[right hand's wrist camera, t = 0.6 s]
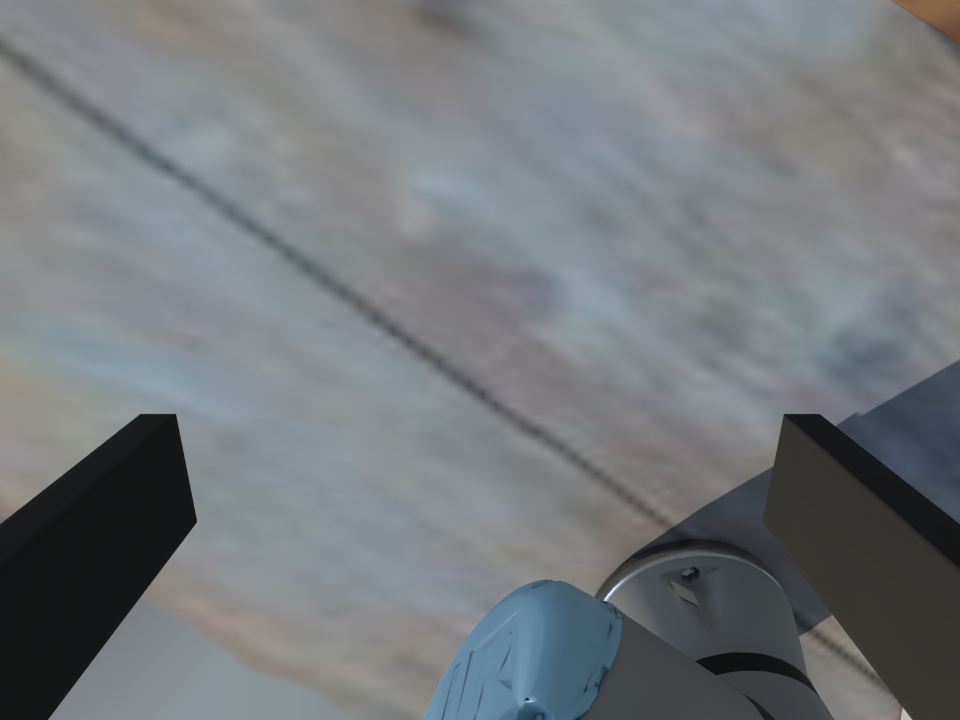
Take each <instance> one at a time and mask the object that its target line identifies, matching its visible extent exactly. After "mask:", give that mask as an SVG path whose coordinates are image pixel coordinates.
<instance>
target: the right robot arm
mask: <svg viewBox="0 0 960 720" xmlns="http://www.w3.org/2000/svg"><path fill="white" fill-rule="evenodd" d="M196 523H197V519H196V514H195V508H194V503H193V498H192V493H191V488H190V483H189V478H188V473H187V468H186V463H185V458H184V452H183V447H182V442H181V437H180V432H179V427H178V422H177V417H176V414H140V415H139V416H137V417H136V418H135V419H134V420H132V421H131V422H130V423H128V424H127V425H126V426H125V427H123V428H122V429H121V430H120V431H118V432H117V433H116V434H115V435H113V436H112V437H111V438H109V439H108V440H107V441H106V442H104V443H103V444H102V445H101V446H99V447H98V448H97V449H95V450H94V451H93V452H92V453H90V454H89V455H88V456H87V457H85V458H84V459H83V460H81V461H80V462H79V463H78V464H76V465H75V466H74V467H73V468H71V469H70V470H69V471H67V472H66V473H65V474H64V475H62V476H61V477H60V478H59V479H57V480H56V481H55V482H53V483H52V484H51V485H50V486H48V487H47V488H46V489H45V490H43V491H42V492H41V493H39V494H38V495H37V496H36V497H34V498H33V499H32V500H31V501H29V502H28V503H27V504H25V505H24V506H23V507H22V508H20V509H19V510H18V511H17V512H15V513H14V514H13V515H11V516H10V517H9V518H8V519H6V520H5V521H4V522H3V523H1V524H0V720H48V719H49V718H50V716H51V715H52V714H53V712H54V711H55V710H56V708H57V707H58V706H59V704H60V703H61V702H62V700H63V699H64V698H65V696H66V695H67V694H68V692H69V691H70V690H71V688H72V687H73V686H74V684H75V683H76V682H77V680H78V679H79V678H80V676H81V675H82V674H83V672H84V671H85V670H86V669H87V667H88V666H89V665H90V663H91V662H92V661H93V659H94V658H95V657H96V655H97V654H98V653H99V651H100V650H101V649H102V647H103V646H104V645H105V643H106V642H107V641H108V639H109V638H110V637H111V635H112V634H113V633H114V631H115V630H116V629H117V627H118V626H119V625H120V623H121V622H122V621H123V619H124V618H125V617H126V616H127V614H128V613H129V612H130V610H131V609H132V608H133V606H134V605H135V604H136V602H137V601H138V600H139V598H140V597H141V596H142V594H143V593H144V592H145V590H146V589H147V588H148V586H149V585H150V584H151V582H152V581H153V580H154V578H155V577H156V576H157V574H158V573H159V572H160V571H161V569H162V568H163V567H164V565H165V564H166V563H167V561H168V560H169V559H170V557H171V556H172V555H173V553H174V552H175V551H176V549H177V548H178V547H179V545H180V544H181V543H182V541H183V540H184V539H185V537H186V536H187V535H188V533H189V532H190V531H191V529H192V528H193V527H194V525H195V524H196ZM763 523H764V524H765V525H766V527H767V528H768V529H769V531H770V532H771V533H772V535H773V536H774V537H775V539H776V540H777V541H778V543H779V544H780V545H781V547H782V548H783V549H784V551H785V552H786V553H787V555H788V556H789V557H790V559H791V560H792V561H793V563H794V564H795V565H796V567H797V568H798V569H799V571H800V572H801V573H802V574H803V576H804V577H805V578H806V580H807V581H808V582H809V584H810V585H811V586H812V588H813V589H814V590H815V592H816V593H817V594H818V596H819V597H820V598H821V600H822V601H823V602H824V604H825V605H826V606H827V608H828V609H829V610H830V612H831V613H832V614H833V616H834V617H835V618H836V620H837V621H838V622H839V624H840V625H841V626H842V627H843V629H844V630H845V631H846V633H847V634H848V635H849V637H850V638H851V639H852V641H853V642H854V643H855V645H856V646H857V647H858V649H859V650H860V651H861V653H862V654H863V655H864V657H865V658H866V659H867V661H868V662H869V663H870V665H871V666H872V667H873V669H874V670H875V671H876V673H877V674H878V675H879V677H880V678H881V679H882V680H883V682H884V683H885V684H886V686H887V687H888V688H889V690H890V691H891V692H892V694H893V695H894V696H895V698H896V699H897V700H898V702H899V703H900V704H901V706H902V707H903V708H904V710H905V711H906V712H907V714H908V715H909V716H910V718H911V719H912V720H960V524H959V523H957V522H956V521H955V520H954V519H952V518H951V517H950V516H949V515H947V514H946V513H945V512H943V511H942V510H941V509H940V508H938V507H937V506H936V505H935V504H933V503H932V502H931V501H929V500H928V499H927V498H926V497H924V496H923V495H922V494H921V493H919V492H918V491H917V490H915V489H914V488H913V487H912V486H910V485H909V484H908V483H907V482H905V481H904V480H903V479H901V478H900V477H899V476H898V475H896V474H895V473H894V472H893V471H891V470H890V469H889V468H887V467H886V466H885V465H884V464H882V463H881V462H880V461H879V460H877V459H876V458H875V457H873V456H872V455H871V454H870V453H868V452H867V451H866V450H865V449H863V448H862V447H861V446H859V445H858V444H857V443H856V442H854V441H853V440H852V439H851V438H849V437H848V436H847V435H845V434H844V433H843V432H842V431H840V430H839V429H838V428H837V427H835V426H834V425H833V424H832V423H830V422H829V421H828V420H826V419H825V418H824V417H823V416H821V415H820V414H784V417H783V422H782V427H781V432H780V437H779V442H778V447H777V452H776V458H775V463H774V468H773V473H772V478H771V483H770V488H769V493H768V498H767V503H766V508H765V514H764V519H763Z"/></svg>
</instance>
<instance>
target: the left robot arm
mask: <svg viewBox="0 0 960 720" xmlns="http://www.w3.org/2000/svg"><path fill="white" fill-rule="evenodd" d="M424 720H834V719H833V717H832V715H831V714H830V712H829V711H828V709H827V707H826V706H825V704H824V702H823V701H822V700H821V698H820V697H819V695H818V693H817V692H816V690H815V688H814V687H813V685H812V683H811V682H810V680H809V678H808V676H807V671H806V667H805V662H804V658H803V653H802V649H801V644H800V640H799V636H798V632H797V628H796V623H795V618H794V614H793V610H792V607H791V604H790V601H789V599H788V597H787V595H786V593H785V592H784V590H783V589H782V587H781V586H780V584H779V583H778V581H777V580H776V579H775V577H774V576H773V574H772V573H771V572H770V570H769V569H768V568H767V567H766V566H765V565H764V564H763V563H762V562H761V561H760V560H758V559H757V558H755V557H754V556H753V555H751V554H749V553H747V552H746V551H743V550H741V549H739V548H737V547H734V546H731V545H727V544H723V543H719V542H712V541H682V542H676V543H670V544H666V545H662V546H659V547H656V548H653V549H650V550H648V551H646V552H643V553H641V554H639V555H637V556H636V557H634V558H632V559H630V560H629V561H627V562H626V563H624V564H623V565H622V566H620V567H619V568H618V569H617V570H616V571H615V572H613V573H612V574H611V575H610V576H609V577H608V579H607V580H606V581H605V582H604V583H603V585H602V586H601V588H600V589H599V590H598V592H597V594H596V596H595V598H594V597H593V596H591V595H589V594H587V593H585V592H583V591H582V590H580V589H578V588H576V587H574V586H573V585H571V584H569V583H566V582H562V581H557V582H556V581H553V580H540V581H535V582H532V583H529V584H527V585H525V586H523V587H521V588H519V589H517V590H515V591H514V592H512V593H511V594H509V595H508V596H507V597H505V598H504V599H503V600H502V601H500V602H499V603H498V604H497V605H496V606H495V607H494V608H493V609H492V610H491V611H490V612H489V613H488V614H487V615H486V616H485V617H484V618H483V619H482V620H481V622H480V623H479V624H478V625H477V626H476V627H475V629H474V630H473V631H472V633H471V634H470V635H469V636H468V638H467V639H466V641H465V642H464V643H463V645H462V646H461V648H460V649H459V651H458V652H457V654H456V655H455V657H454V659H453V661H452V663H451V664H450V665H449V667H448V669H447V670H446V672H445V674H444V676H443V678H442V680H441V681H440V683H439V685H438V687H437V689H436V691H435V694H434V696H433V698H432V700H431V702H430V705H429V707H428V710H427V712H426V714H425V717H424Z"/></svg>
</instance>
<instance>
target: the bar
mask: <svg viewBox="0 0 960 720" xmlns="http://www.w3.org/2000/svg"><path fill="white" fill-rule="evenodd" d="M892 1H894V2H895V3H897V4H898V5H900V6H901V7H903V8H905V9H906V10H908V11H909V12H911V13H912V14H914V15H915V16H917V17H919V18H920V19H922V20H923V21H925V22H926V23H928V24H930V25H931V26H933V27H934V28H936V29H937V30H939V31H940V32H942V33H944V34H945V35H947V36H948V37H950V38H951V39H953V40H955V41H956V42H958V43H959V44H960V0H892Z"/></svg>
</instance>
